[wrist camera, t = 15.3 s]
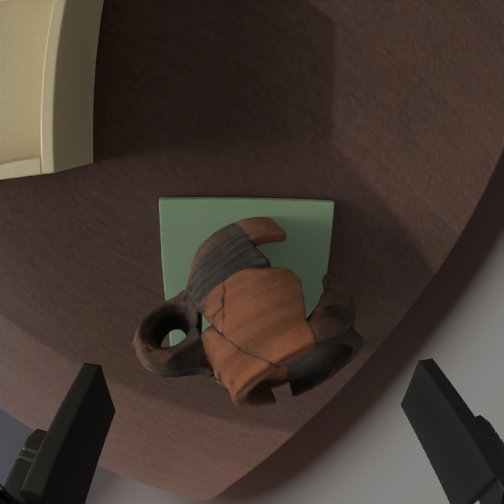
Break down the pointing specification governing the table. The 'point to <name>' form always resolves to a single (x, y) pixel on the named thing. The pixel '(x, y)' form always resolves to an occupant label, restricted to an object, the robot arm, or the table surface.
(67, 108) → the cream yellow tray
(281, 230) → the pottery mug
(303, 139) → the table surface
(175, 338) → the mat
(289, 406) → the table surface
